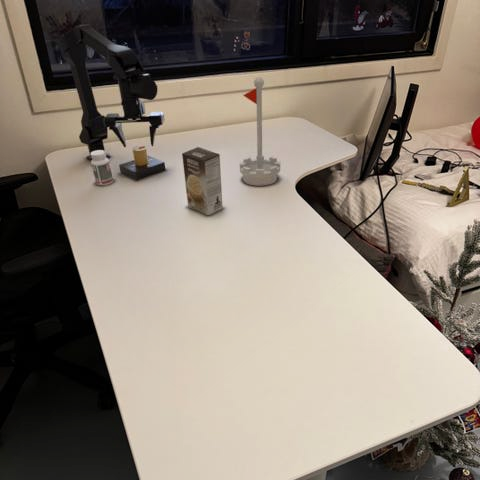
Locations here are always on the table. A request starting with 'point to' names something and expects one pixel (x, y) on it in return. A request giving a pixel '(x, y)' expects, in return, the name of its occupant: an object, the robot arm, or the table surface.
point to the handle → (140, 155)
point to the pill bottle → (101, 167)
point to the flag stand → (259, 148)
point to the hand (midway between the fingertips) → (138, 146)
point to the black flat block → (142, 168)
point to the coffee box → (203, 180)
